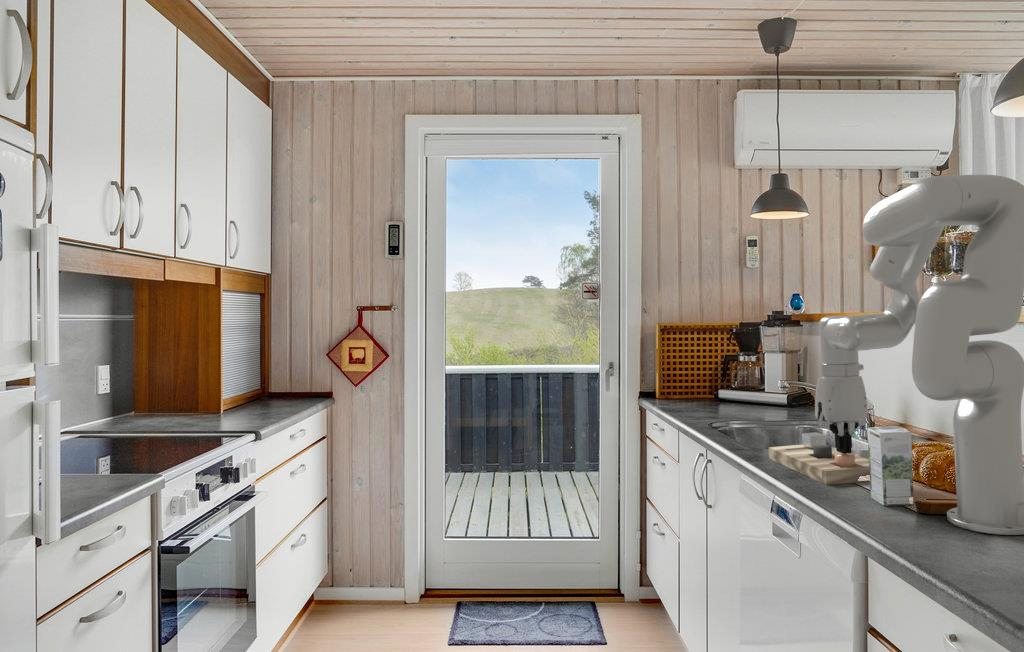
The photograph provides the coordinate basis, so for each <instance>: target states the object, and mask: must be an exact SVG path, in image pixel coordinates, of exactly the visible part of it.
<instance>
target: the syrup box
mask: <svg viewBox="0 0 1024 652" xmlns="http://www.w3.org/2000/svg"><path fill="white" fill-rule="evenodd" d="M867 450H868V451H867V453H868V460H869V475H870V481H869V495H870V498H871V499H872V500H874V501H875V502H877V503H878V504H880V505H882V506H884V507H886V506H887V507H888V506H889V507H890V506H891V507H892V506H893V507H894V506H911V505H910V503H909V502H910V501H909V498H910V497H913V496H914V497H915V495H914V475H913V474H914V473H913V444H912V433H911V431H909V430H908V429H906V428H904V427H902V426H897V425H894V426H893V425H891V426H874V427H873V426H872V427H867Z"/></svg>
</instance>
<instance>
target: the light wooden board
mask: <svg viewBox="0 0 1024 652" xmlns="http://www.w3.org/2000/svg"><path fill="white" fill-rule="evenodd" d="M831 447H832V458H824V459H817V458H815V457H814V455H813V448H809V447H806V446H803V445H802V444H792V445H781V446H771V447H770V446H769V447H768V459H769V460H770V461H773V462H775V463H778V464H779V465H781V466H784V467H786V468H788V469H790V470H793V471H795V472H797V473H799V474H802V475H804V476H806V477H808V478H810V479H811V480H815V481H817V482H819V483H821V484H824V485H825V486H828V485H829V486H830V485H837V484H838V485H841V484H850V483H852V484H853V483H860V482H859V481H858V479H859V477H860V476H866V475H869V458H865V457H863V456H859V455H858V454H854V455H855V467H845V468H840V467H838V466H835V454H836V453H840V452H838V451H837V450H836V447H835V446H834V447H833V446H831Z"/></svg>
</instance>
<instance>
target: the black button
mask: <svg viewBox="0 0 1024 652" xmlns="http://www.w3.org/2000/svg"><path fill="white" fill-rule="evenodd" d="M832 447H833V446H831V445H828V444H826V445H815V446H813V455H814V457H815V458H817V459H824V458H832Z"/></svg>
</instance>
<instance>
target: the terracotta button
mask: <svg viewBox="0 0 1024 652" xmlns="http://www.w3.org/2000/svg"><path fill="white" fill-rule="evenodd" d="M855 455H856V454H855V453H852V452H851V453H847V454H843V453H836V454H835V466H838V467H840V468H845V467H855Z"/></svg>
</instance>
